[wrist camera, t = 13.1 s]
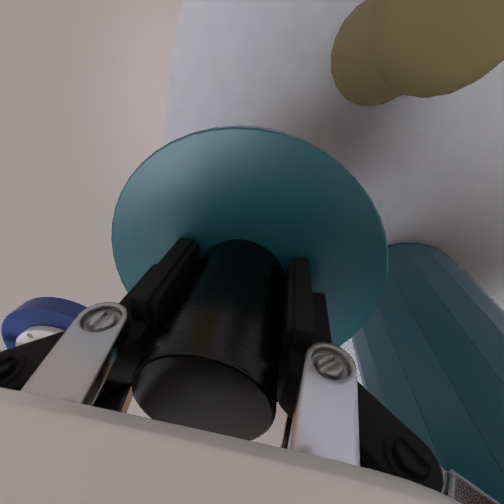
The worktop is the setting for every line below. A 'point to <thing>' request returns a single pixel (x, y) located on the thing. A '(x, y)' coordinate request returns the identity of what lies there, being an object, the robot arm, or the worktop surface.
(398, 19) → the cork
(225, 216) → the lid
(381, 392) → the teal faceted tube
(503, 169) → the worktop surface
